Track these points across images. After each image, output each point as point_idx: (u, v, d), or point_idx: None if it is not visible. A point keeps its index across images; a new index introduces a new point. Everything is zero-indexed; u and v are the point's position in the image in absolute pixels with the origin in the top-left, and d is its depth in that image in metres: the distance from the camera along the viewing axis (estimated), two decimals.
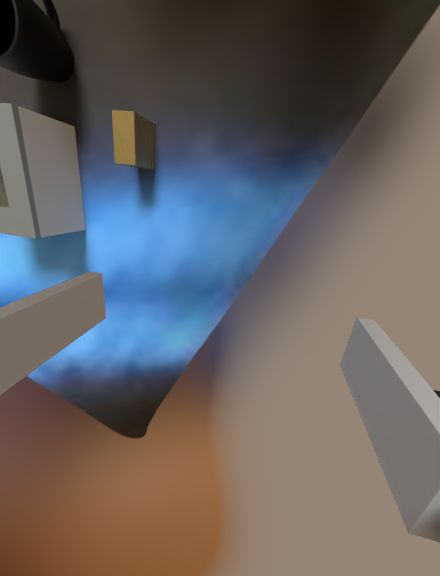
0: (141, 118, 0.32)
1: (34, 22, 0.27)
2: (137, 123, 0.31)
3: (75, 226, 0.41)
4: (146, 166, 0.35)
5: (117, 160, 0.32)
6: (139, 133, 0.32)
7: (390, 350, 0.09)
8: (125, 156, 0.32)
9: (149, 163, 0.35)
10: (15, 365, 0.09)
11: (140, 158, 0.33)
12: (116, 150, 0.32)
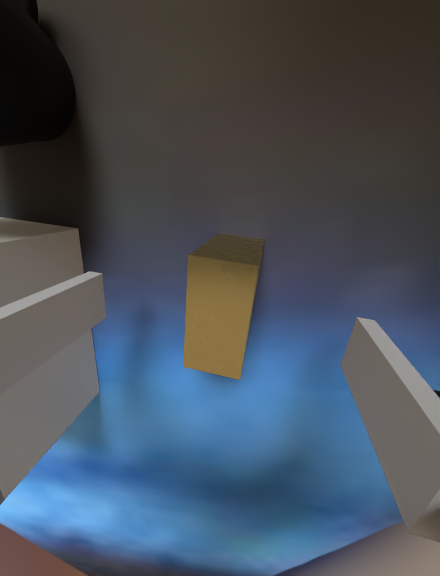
0: (260, 260, 0.12)
1: None
2: None
3: (81, 404, 0.21)
4: None
5: (191, 363, 0.12)
6: None
7: (390, 350, 0.09)
8: (215, 359, 0.12)
9: None
10: (15, 365, 0.09)
11: None
12: (190, 343, 0.12)
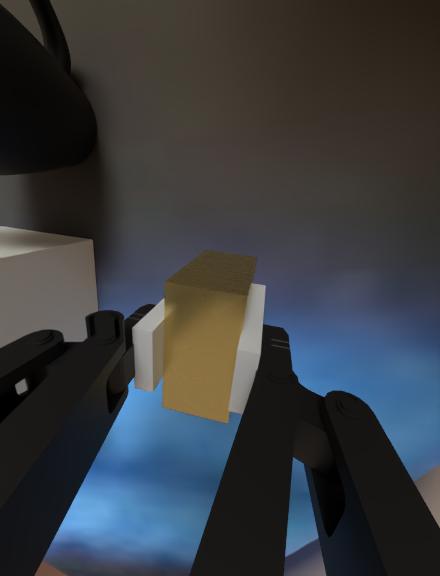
0: None
1: (8, 68, 0.10)
2: (245, 315, 0.09)
3: None
4: None
5: (171, 403, 0.11)
6: None
7: (256, 301, 0.11)
8: (199, 400, 0.10)
9: None
10: None
11: None
12: (170, 381, 0.10)
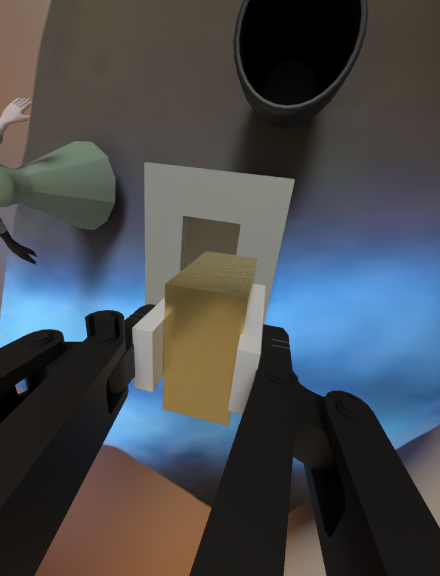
0: (251, 286, 0.10)
1: None
2: None
3: None
4: None
5: (171, 405, 0.11)
6: None
7: (256, 301, 0.11)
8: (200, 402, 0.10)
9: None
10: None
11: None
12: (170, 383, 0.10)
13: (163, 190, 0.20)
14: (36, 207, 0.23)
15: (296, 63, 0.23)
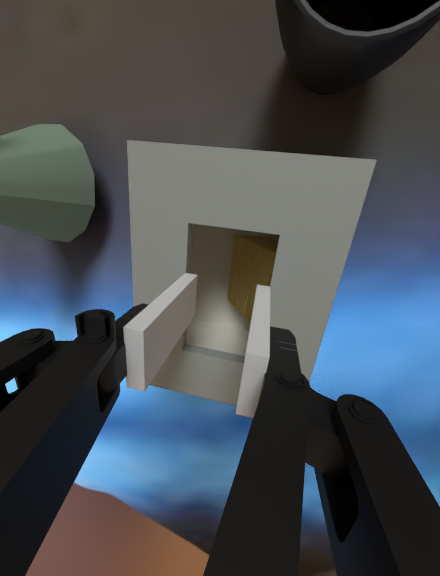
0: None
1: None
2: None
3: None
4: None
5: None
6: None
7: (262, 303, 0.11)
8: None
9: None
10: (159, 355, 0.10)
11: None
12: None
13: (157, 184, 0.13)
14: None
15: (346, 3, 0.16)
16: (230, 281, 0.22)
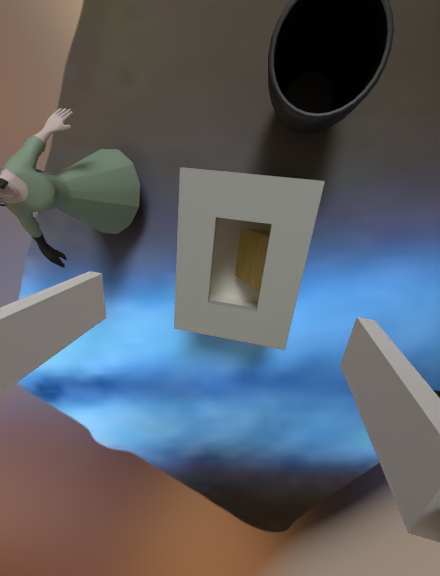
0: None
1: None
2: None
3: None
4: None
5: None
6: None
7: (390, 350, 0.09)
8: None
9: None
10: (15, 365, 0.09)
11: None
12: None
13: (197, 193, 0.21)
14: (69, 212, 0.24)
15: (314, 75, 0.25)
16: (237, 262, 0.30)
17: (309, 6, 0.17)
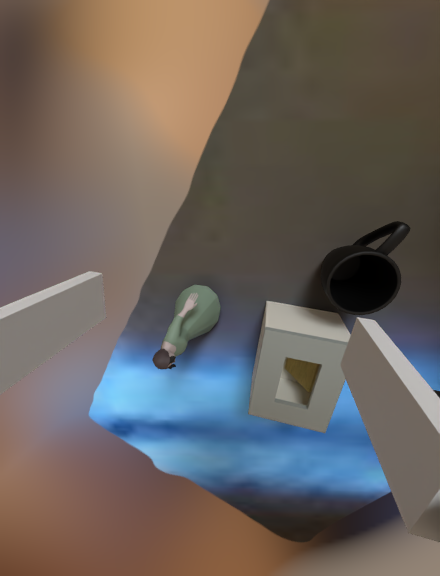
0: None
1: None
2: None
3: None
4: None
5: (311, 390, 0.38)
6: None
7: (390, 350, 0.09)
8: None
9: None
10: (15, 365, 0.09)
11: None
12: (312, 384, 0.38)
13: (275, 343, 0.33)
14: None
15: None
16: (287, 360, 0.42)
17: None
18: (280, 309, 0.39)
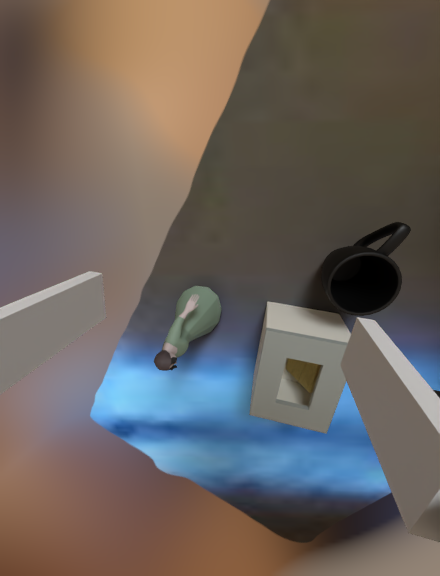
0: None
1: None
2: None
3: None
4: None
5: (312, 390, 0.38)
6: None
7: (390, 350, 0.09)
8: None
9: None
10: (15, 365, 0.09)
11: None
12: (313, 385, 0.38)
13: (276, 344, 0.34)
14: None
15: None
16: (288, 361, 0.42)
17: None
18: (281, 310, 0.39)
